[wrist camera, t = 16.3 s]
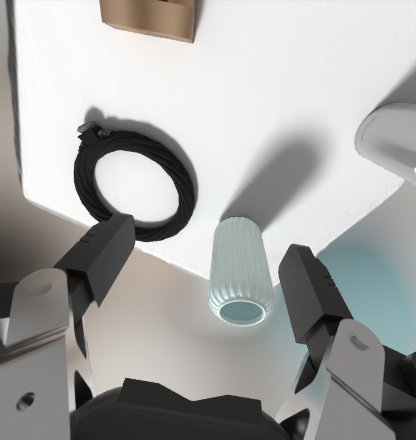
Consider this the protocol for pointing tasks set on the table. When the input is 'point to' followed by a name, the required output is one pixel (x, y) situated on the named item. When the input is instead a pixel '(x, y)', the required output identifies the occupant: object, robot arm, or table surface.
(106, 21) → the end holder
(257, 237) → the vase
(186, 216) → the cable lock
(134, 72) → the table surface
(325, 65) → the table surface
